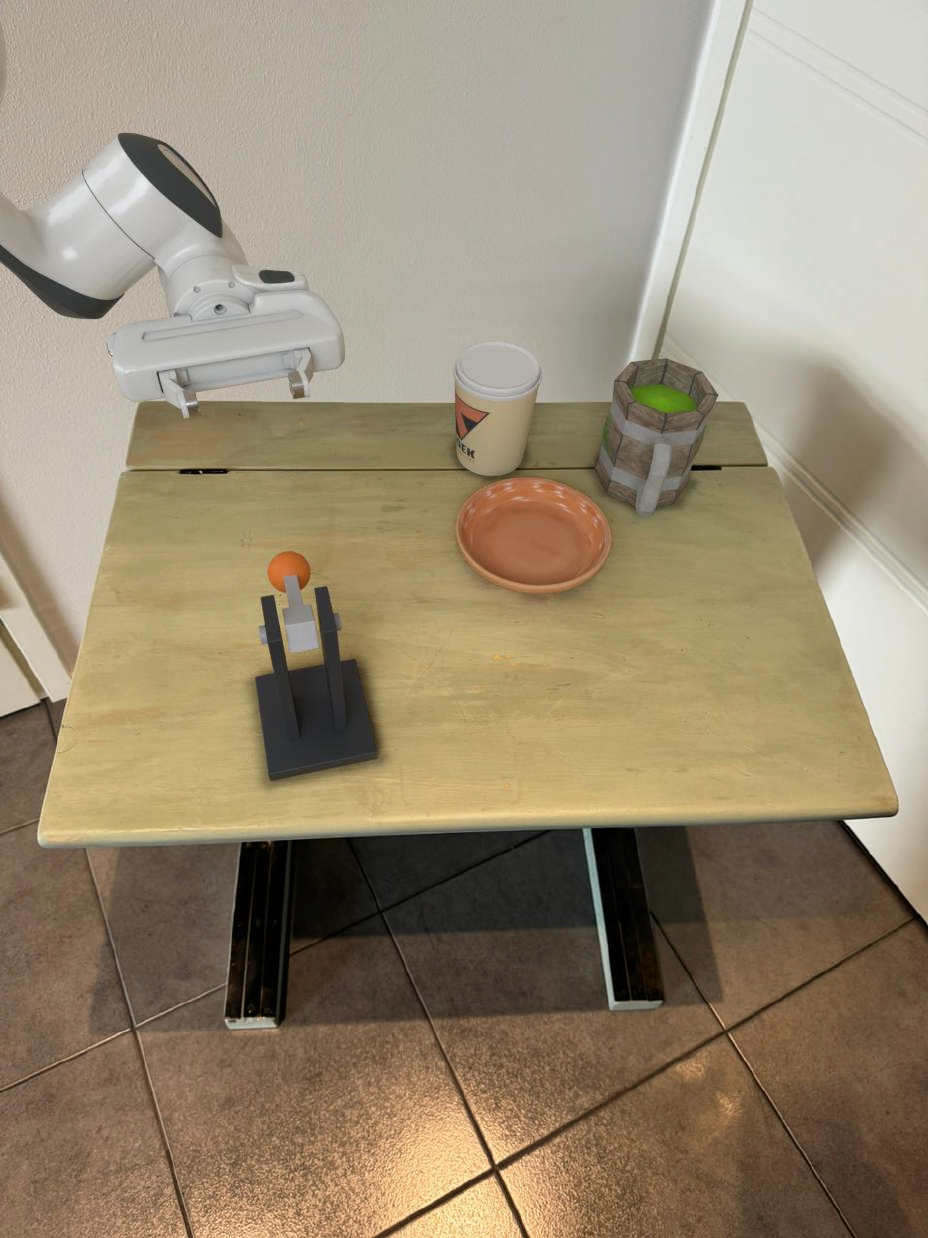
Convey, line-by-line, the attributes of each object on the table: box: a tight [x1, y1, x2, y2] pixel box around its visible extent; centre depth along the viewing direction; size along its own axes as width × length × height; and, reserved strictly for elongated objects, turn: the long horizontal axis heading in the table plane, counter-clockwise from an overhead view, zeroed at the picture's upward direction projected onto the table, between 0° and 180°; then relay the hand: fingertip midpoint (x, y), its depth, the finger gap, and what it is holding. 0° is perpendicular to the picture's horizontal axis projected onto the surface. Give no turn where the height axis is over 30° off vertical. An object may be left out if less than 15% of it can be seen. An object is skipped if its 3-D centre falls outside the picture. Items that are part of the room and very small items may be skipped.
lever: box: [267, 550, 320, 654], centre depth 67 cm, size 13×4×4 cm, turn 15°
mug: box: [593, 357, 719, 518], centre depth 89 cm, size 16×11×12 cm
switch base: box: [254, 585, 378, 782], centre depth 67 cm, size 10×9×15 cm
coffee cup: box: [452, 340, 543, 477], centre depth 92 cm, size 9×9×12 cm
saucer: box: [455, 476, 613, 595], centre depth 86 cm, size 16×16×3 cm
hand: (247, 401), depth 71 cm, fingers open, 8 cm apart
